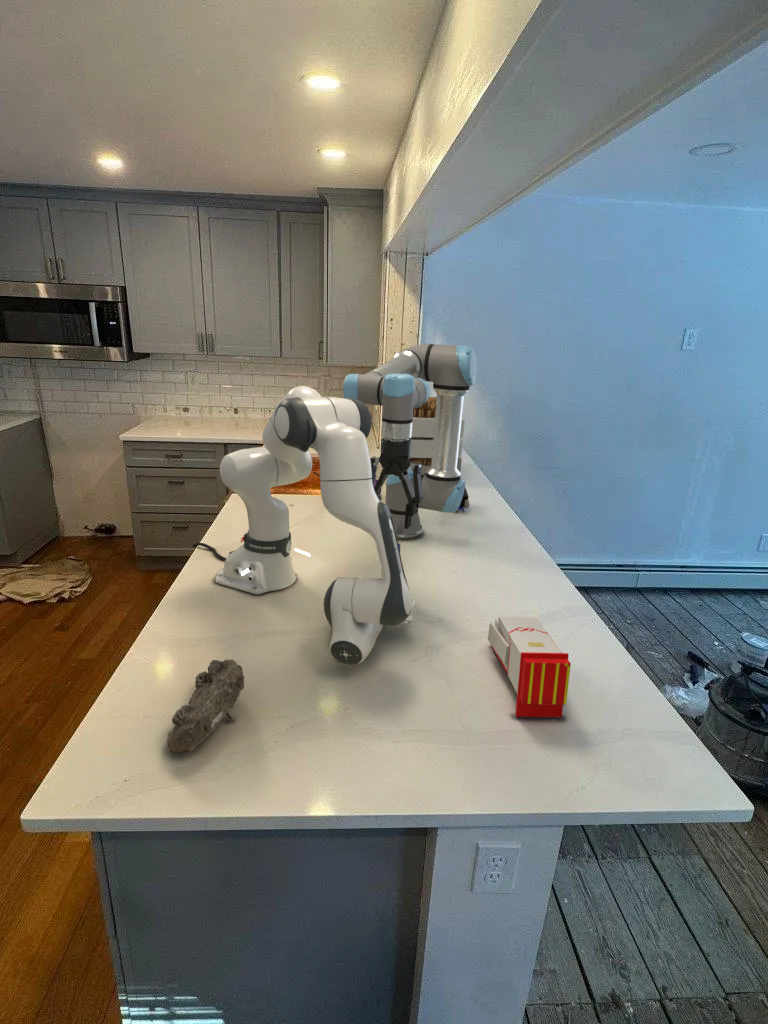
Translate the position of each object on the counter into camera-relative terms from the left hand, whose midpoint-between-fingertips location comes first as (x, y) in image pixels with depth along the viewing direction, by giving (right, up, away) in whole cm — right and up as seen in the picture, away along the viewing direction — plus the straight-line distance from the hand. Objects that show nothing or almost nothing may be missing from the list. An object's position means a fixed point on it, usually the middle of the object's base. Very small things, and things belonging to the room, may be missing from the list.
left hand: (381, 590), depth 145 cm
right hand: (+3, +17, +3) cm, 18 cm away
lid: (+3, +11, +5) cm, 12 cm away
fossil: (-32, -19, -37) cm, 53 cm away
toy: (+31, -16, -21) cm, 40 cm away
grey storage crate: (+18, +39, +130) cm, 137 cm away
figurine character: (+31, +22, +83) cm, 92 cm away
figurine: (-5, +26, +92) cm, 95 cm away
